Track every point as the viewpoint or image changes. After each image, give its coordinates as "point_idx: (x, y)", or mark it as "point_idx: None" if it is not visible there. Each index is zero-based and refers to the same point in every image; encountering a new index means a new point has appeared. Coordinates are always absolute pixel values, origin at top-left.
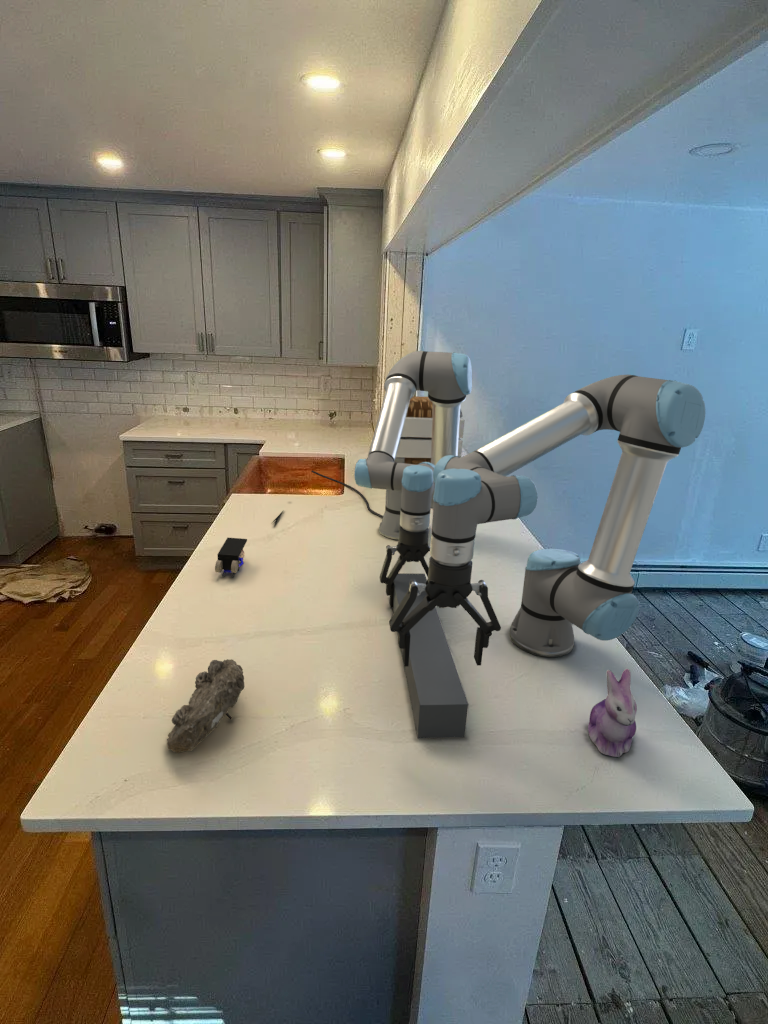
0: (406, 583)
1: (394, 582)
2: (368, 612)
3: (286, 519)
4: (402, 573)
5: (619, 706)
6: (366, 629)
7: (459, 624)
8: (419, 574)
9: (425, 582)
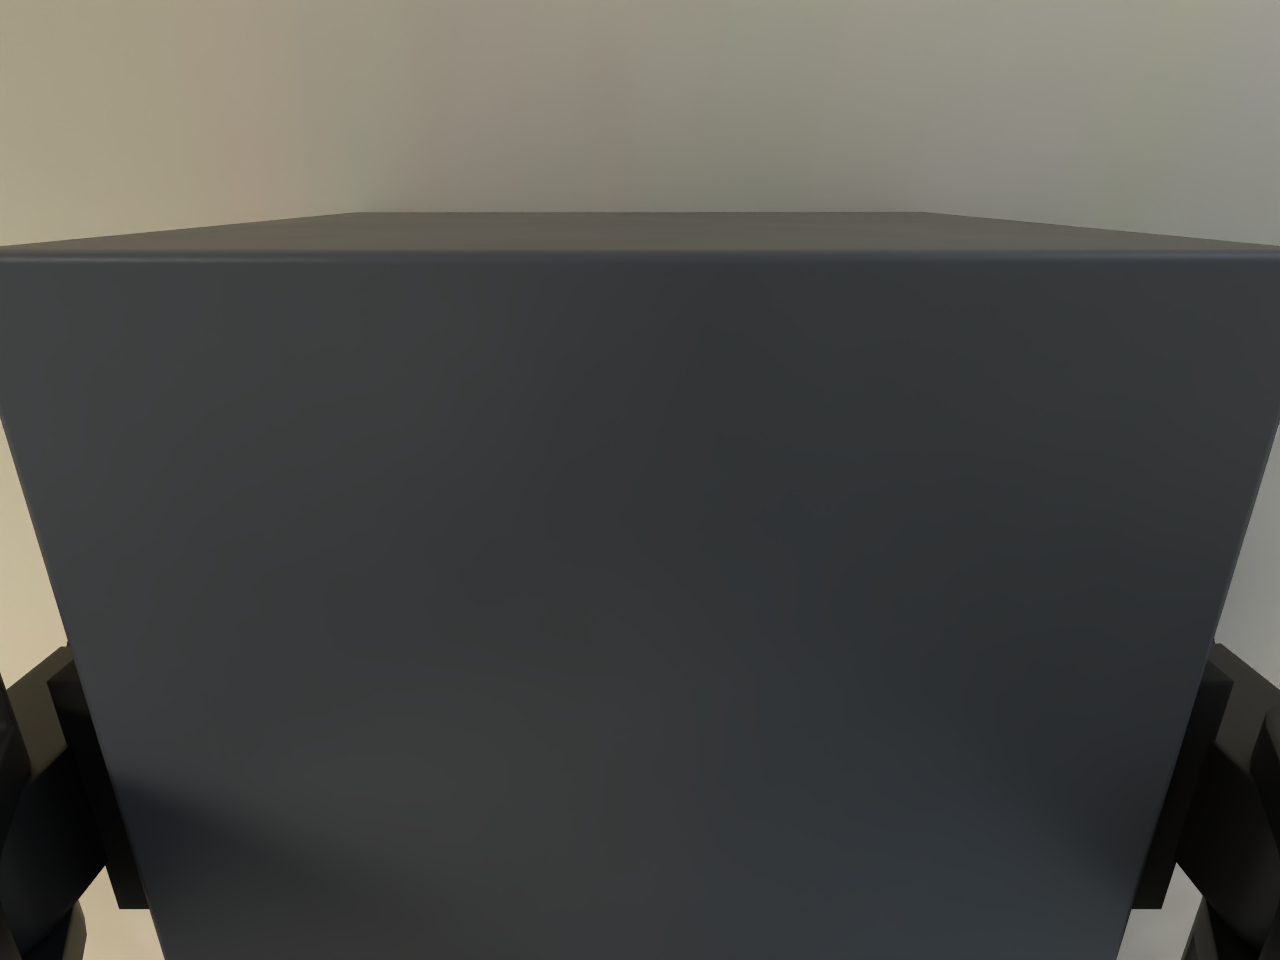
0: (503, 930)
1: (151, 889)
2: (62, 637)
3: None
4: (386, 261)
5: None
6: (116, 949)
7: (1182, 880)
8: (1074, 360)
9: (1074, 883)
